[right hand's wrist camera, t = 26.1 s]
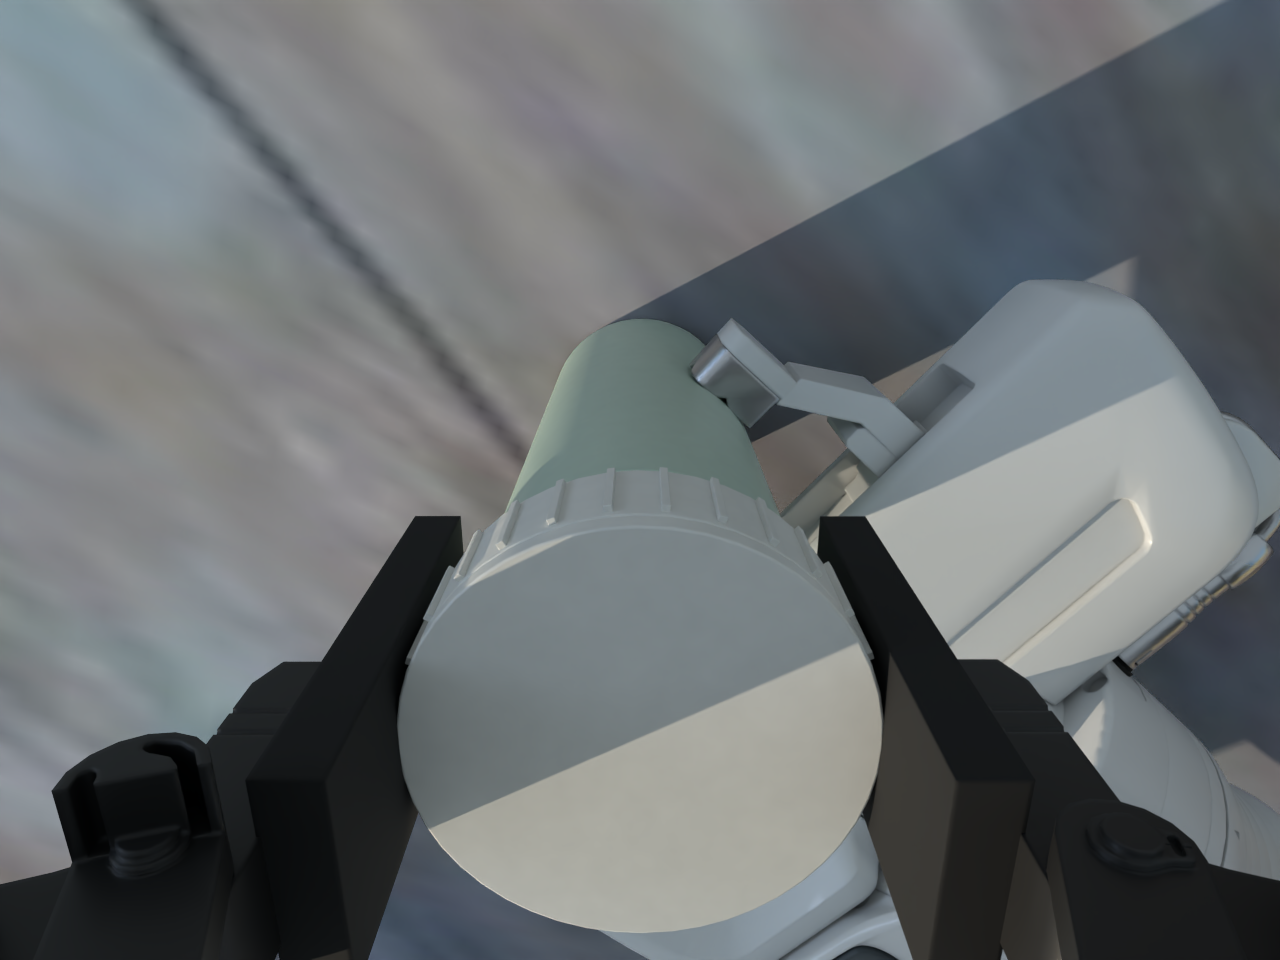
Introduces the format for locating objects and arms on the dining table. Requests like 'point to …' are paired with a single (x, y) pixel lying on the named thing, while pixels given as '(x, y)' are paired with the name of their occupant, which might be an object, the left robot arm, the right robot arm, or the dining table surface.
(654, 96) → the dining table surface
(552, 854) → the lid
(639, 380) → the jar
